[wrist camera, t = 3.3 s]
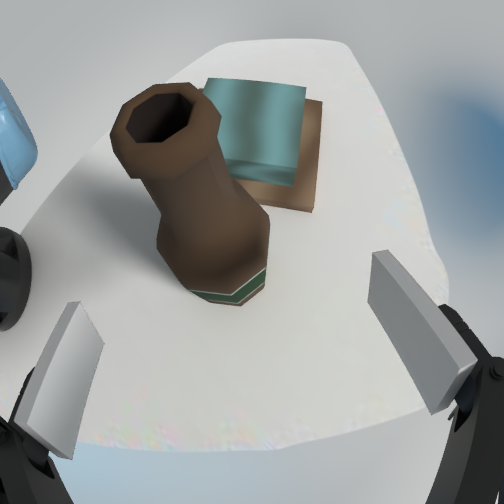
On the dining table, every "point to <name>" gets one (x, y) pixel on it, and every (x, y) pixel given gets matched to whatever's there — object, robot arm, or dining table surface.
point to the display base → (269, 139)
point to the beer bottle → (194, 193)
